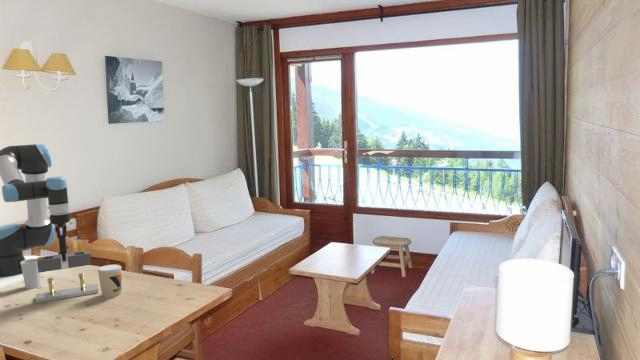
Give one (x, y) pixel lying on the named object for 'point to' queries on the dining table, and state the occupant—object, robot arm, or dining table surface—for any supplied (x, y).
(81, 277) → the grey plate brass knobs
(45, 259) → the grey rectangular block
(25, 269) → the cup
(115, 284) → the coffee cup
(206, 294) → the dining table surface
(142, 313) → the dining table surface
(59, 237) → the robot arm
